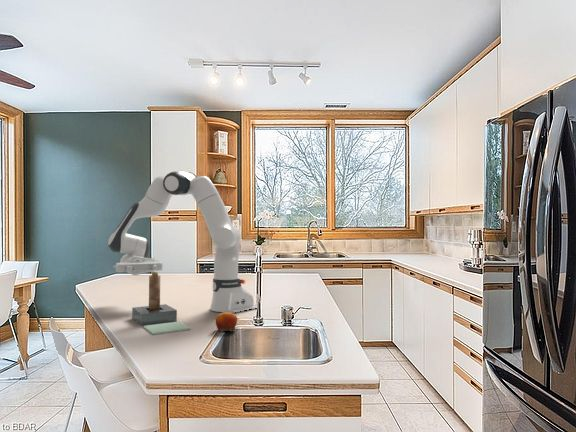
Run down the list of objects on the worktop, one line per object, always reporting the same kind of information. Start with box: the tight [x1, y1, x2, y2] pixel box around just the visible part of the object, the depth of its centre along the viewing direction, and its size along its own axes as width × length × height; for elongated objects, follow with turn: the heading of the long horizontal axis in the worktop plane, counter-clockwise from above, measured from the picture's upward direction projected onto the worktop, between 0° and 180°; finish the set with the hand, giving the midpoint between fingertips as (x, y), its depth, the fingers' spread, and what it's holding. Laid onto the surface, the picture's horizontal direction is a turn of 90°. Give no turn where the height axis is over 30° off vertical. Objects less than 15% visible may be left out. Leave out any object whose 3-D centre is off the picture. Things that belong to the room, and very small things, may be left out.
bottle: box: [148, 271, 161, 311], centre depth 174 cm, size 4×4×20 cm
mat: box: [143, 321, 191, 336], centre depth 161 cm, size 14×12×1 cm
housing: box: [131, 303, 178, 327], centre depth 174 cm, size 14×14×4 cm
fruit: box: [215, 312, 238, 333], centre depth 159 cm, size 8×8×8 cm
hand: (143, 268), depth 188 cm, fingers open, 8 cm apart
